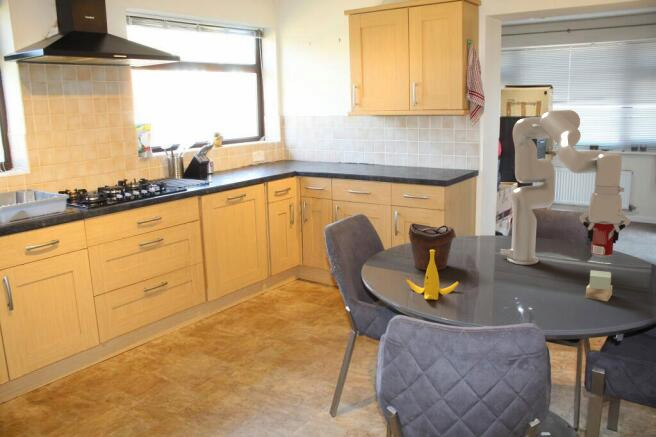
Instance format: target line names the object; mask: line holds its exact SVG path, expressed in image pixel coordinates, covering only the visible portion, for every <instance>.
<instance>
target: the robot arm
mask: <svg viewBox="0 0 656 437" xmlns="http://www.w3.org/2000/svg"><path fill="white" fill-rule="evenodd" d="M580 125H581V118H580V116H579V114H578V113H577V112H576V111H574V110H571V109H562V110H550V111H547V112H545V113H544V114H543V115H541V116H531V117H523V118H521V119H518V120H517V121H516V122H515V124H514V126H513V129H512V140H513V145H514V152H515V153H514V175H515V179H516V180H515V181H517V182H519V183H520V184H531V183H532V184H533V183H537V185H525V186H520V187H516V188H515V189H514V190H513V191H512V192H511V195H510V202H511V207H512V210H511V211H512V223H511V224H512V229H511V248H507V249H505V248H504V249H503V248H500V254H502V255H504V256H507V257H506V259H507V260H506V261H508V262H509V263H512V264H516V265H521V266H522V265H524V266H525V265H526V266H527V265H529V266H530V265H536V264H537V263H538V262H539V257H537V256H536V241H537V240H536V238H537V225H538V223H537V217H536V215H535V213H534V212H533V210H536V209H537V210H538V209H544V208H545V209H546V208H549V207H551V206H552V205H553V203H554V200H555V188H556V186H555V185H556V183H555V182H556V171H555V167H554V164H553V162H552V161H551V160H549V159H547V158H538V149H537V145H536V143H535V142H534V141H533V140H534V139H550V138H551V139H552V141H554V142H555V143H556V144H557V145H558V146H557V154H558V157H559V158H558V159H559V161H560V162H561V163H562V164H563V166H565V167H566V169H568V170H569V171H570V172H572V173H573V174H574V173H575V174H577V175H578V174H589V173H592V174H593V173H595V180H594V192H592V193H591V195H590V198H589V205H588V207H589V208H588V210H587V211H586V212H584V213H583V214H581V215H580V216H579V217H578V220H579V221H580V222H581V224H583V226H584V227H585V228H586V229H587V231H588V232H587V239H589V242H591V243H592V235H593V226H594V224H595V223H598V222H600V223H611V224H613V225H614V227H615V231H614V241H613V244H617V242H618V241H619V238H620V237H619V234H620V232H621V231H622V230H624V229H625V228H626V227H627V226H628V225H630V224H631V219H630V218H629V217H628V216H626V215H625V214H624V213H623V212H622V210H623V208H622V207H623V203H622V202H623V199H622V198H623V197H622V194H621V193H622V192H625V187H622V186H621V185H620V184H621V174H622V163H623V162H622V161H623V158H622V155H620V154H618V153H614V152H613V153H612V152H607V151H605V150H599V149H598V150H582V151H578V150H577V149H575V146H576V145H577V144H578V143H579V141H580V140H581V131H580V129H579V127H580ZM587 217H588V221H586V218H587ZM622 220H623V221H624V222H622ZM621 222H622V223H621ZM619 224H620V225H619Z"/></svg>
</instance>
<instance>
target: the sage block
mask: <svg viewBox="0 0 656 437" xmlns="http://www.w3.org/2000/svg"><path fill="white" fill-rule="evenodd" d="M589 273H590V274H589V284H588V285H589V288H593V289H602V290H610V285H612V284H611V283H612V272H611V271H602V270H593V269H590V272H589Z"/></svg>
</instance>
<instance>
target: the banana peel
mask: <svg viewBox="0 0 656 437" xmlns="http://www.w3.org/2000/svg"><path fill="white" fill-rule="evenodd" d="M434 253H435V250H430V262H429V265H428V268H427V270H425V271H426V273H425V274H424V284H423V285H424V286H423V287H421V286H418V285H416V284H415V283H414V282H412V281H411V280H410V279H406V283H407V284H408V286H409V287H410V288H411V289H412V291H414V292H415V293H417V294H419V295H420V294H424V295H423V296H424V299H425V300H435V301H437V300H438V299H439V295H442V296H444V295H445V296H446V295H449V294H451V292H453V290H455V289H456V287H457V286H458V285H459V284H460V283H459V282H458V281H456V282H455V283H453V284H451V285H450V286H447V287H445V288H441V287H440V276H439V273H438V270H437V268H436V265H435V261H434Z"/></svg>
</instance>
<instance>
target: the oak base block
mask: <svg viewBox="0 0 656 437" xmlns="http://www.w3.org/2000/svg"><path fill="white" fill-rule="evenodd" d="M612 294H613V285H612V284H610V290H602V289H593V288H589V284H588V285H587V286H586V287H585V298H586V299H591V300H598V301H603V302H608V301H610V300H609V299H610V298H611V296H612Z"/></svg>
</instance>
